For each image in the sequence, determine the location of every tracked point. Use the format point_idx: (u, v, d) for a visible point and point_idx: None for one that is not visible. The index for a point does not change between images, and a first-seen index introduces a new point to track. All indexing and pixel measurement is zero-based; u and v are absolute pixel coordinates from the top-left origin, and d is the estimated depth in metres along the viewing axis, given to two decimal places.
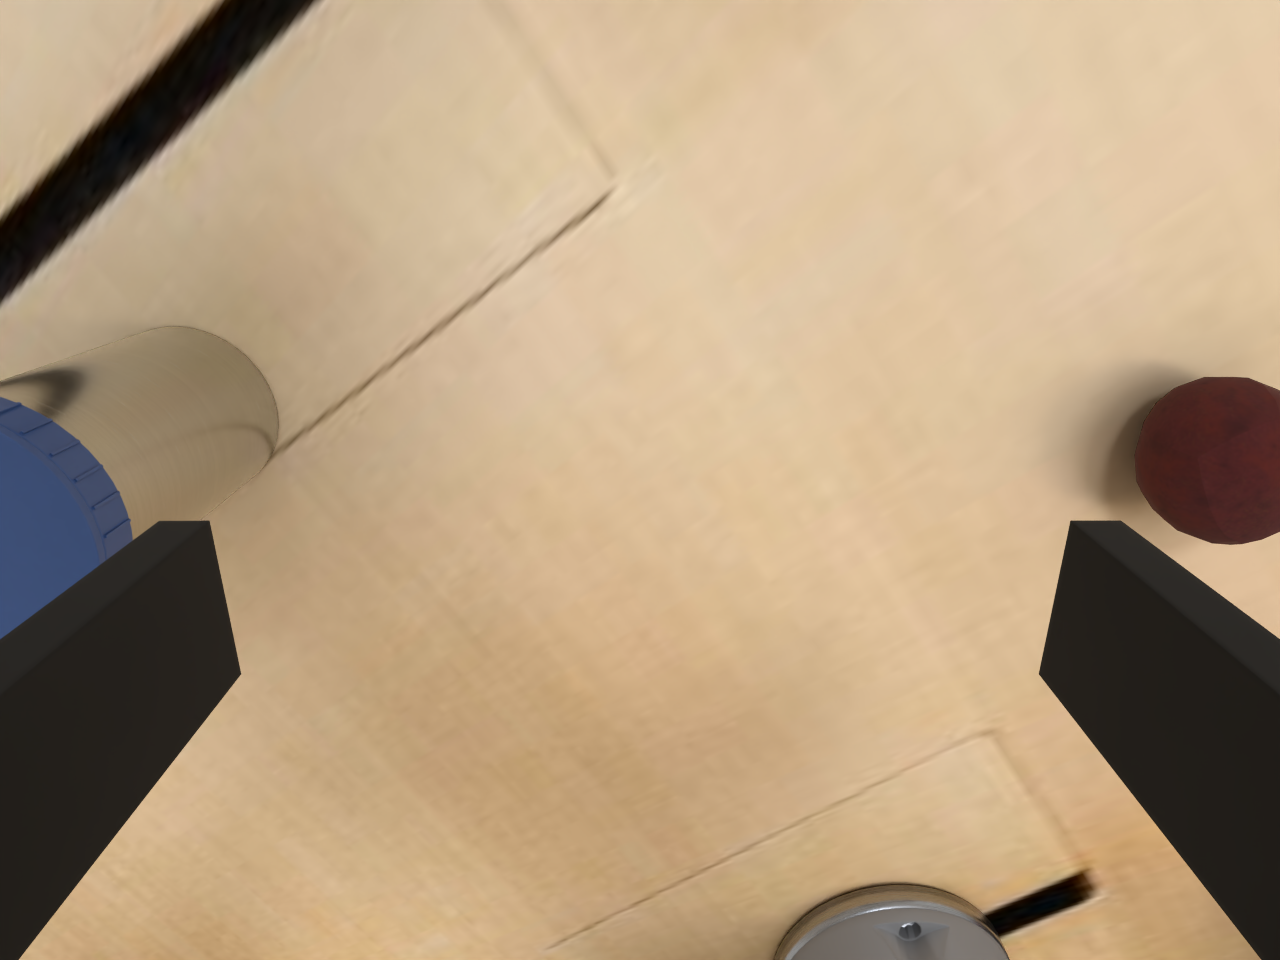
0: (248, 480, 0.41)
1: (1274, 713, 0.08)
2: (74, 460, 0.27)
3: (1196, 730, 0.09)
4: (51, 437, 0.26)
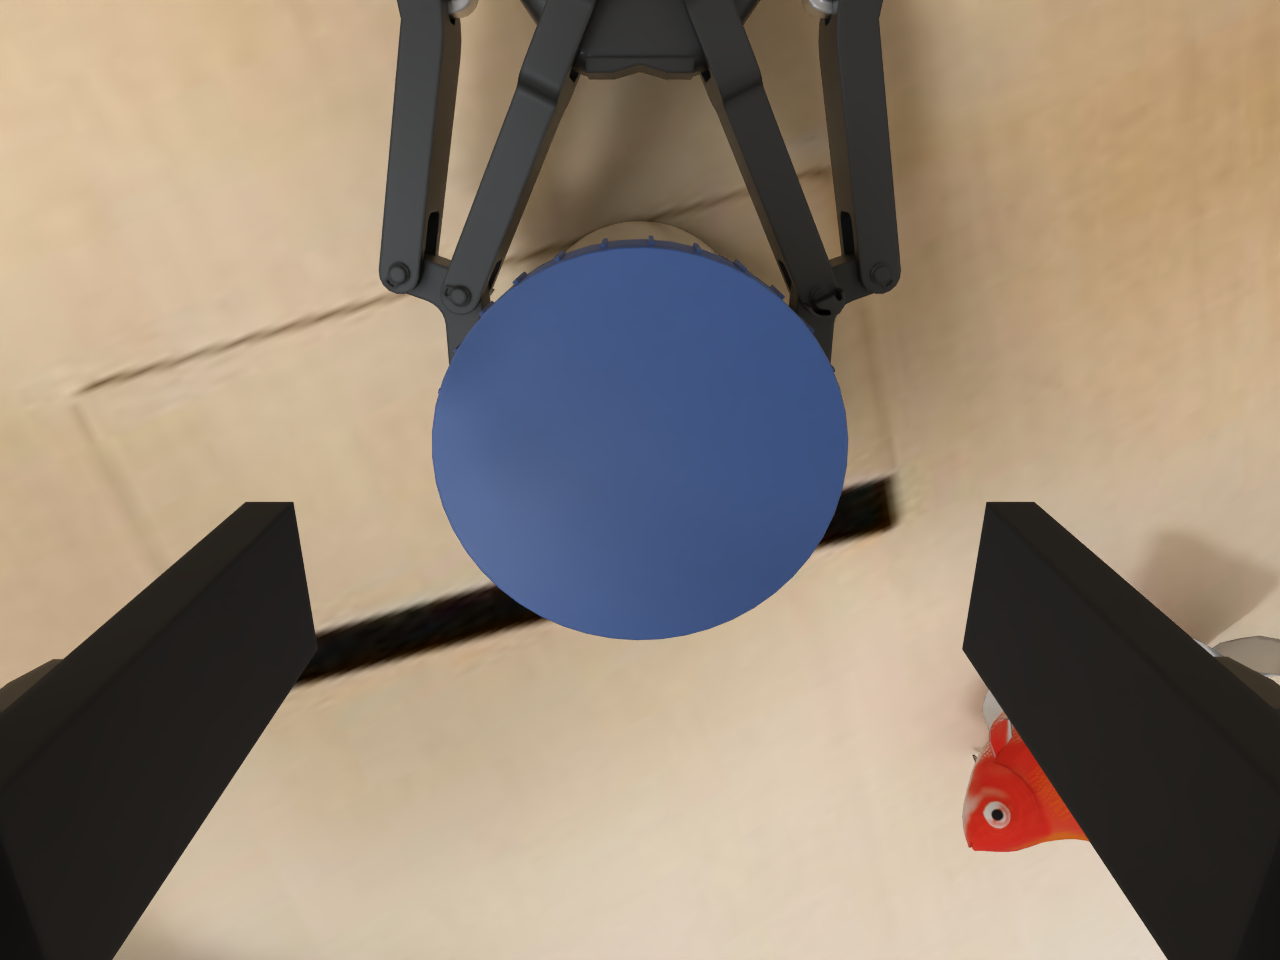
0: (595, 232, 0.30)
1: (1138, 671, 0.09)
2: None
3: (1081, 692, 0.10)
4: None
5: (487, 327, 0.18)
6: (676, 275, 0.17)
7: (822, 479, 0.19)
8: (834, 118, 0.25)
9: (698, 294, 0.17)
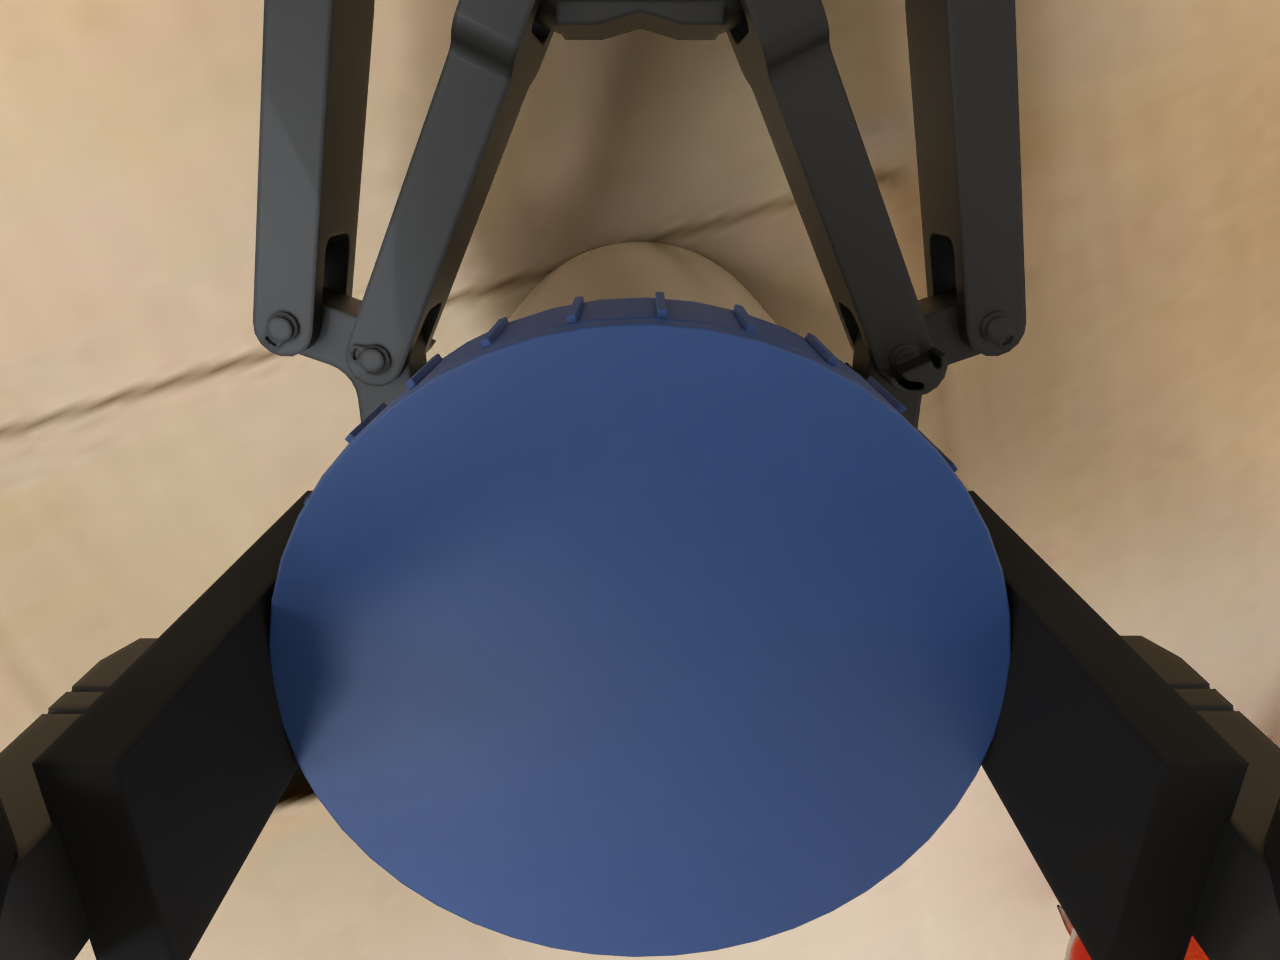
0: (579, 258, 0.22)
1: (1046, 647, 0.09)
2: None
3: None
4: None
5: (356, 468, 0.09)
6: (709, 376, 0.09)
7: (961, 720, 0.11)
8: (929, 97, 0.17)
9: (750, 411, 0.09)
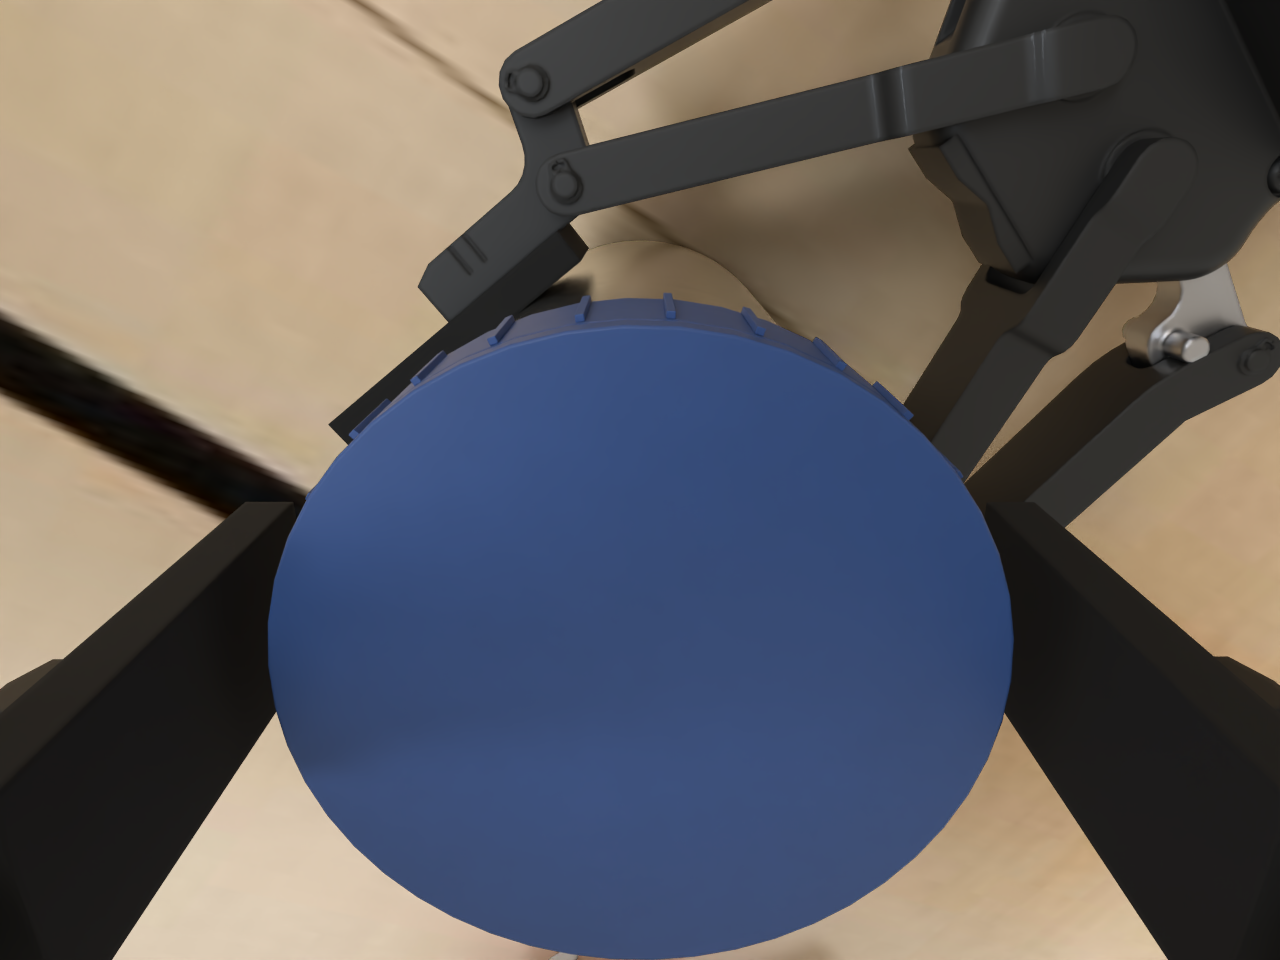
0: (715, 264, 0.22)
1: (1138, 672, 0.09)
2: None
3: (1081, 692, 0.10)
4: None
5: (297, 721, 0.11)
6: (410, 449, 0.09)
7: (909, 487, 0.09)
8: (1042, 443, 0.19)
9: (463, 441, 0.09)
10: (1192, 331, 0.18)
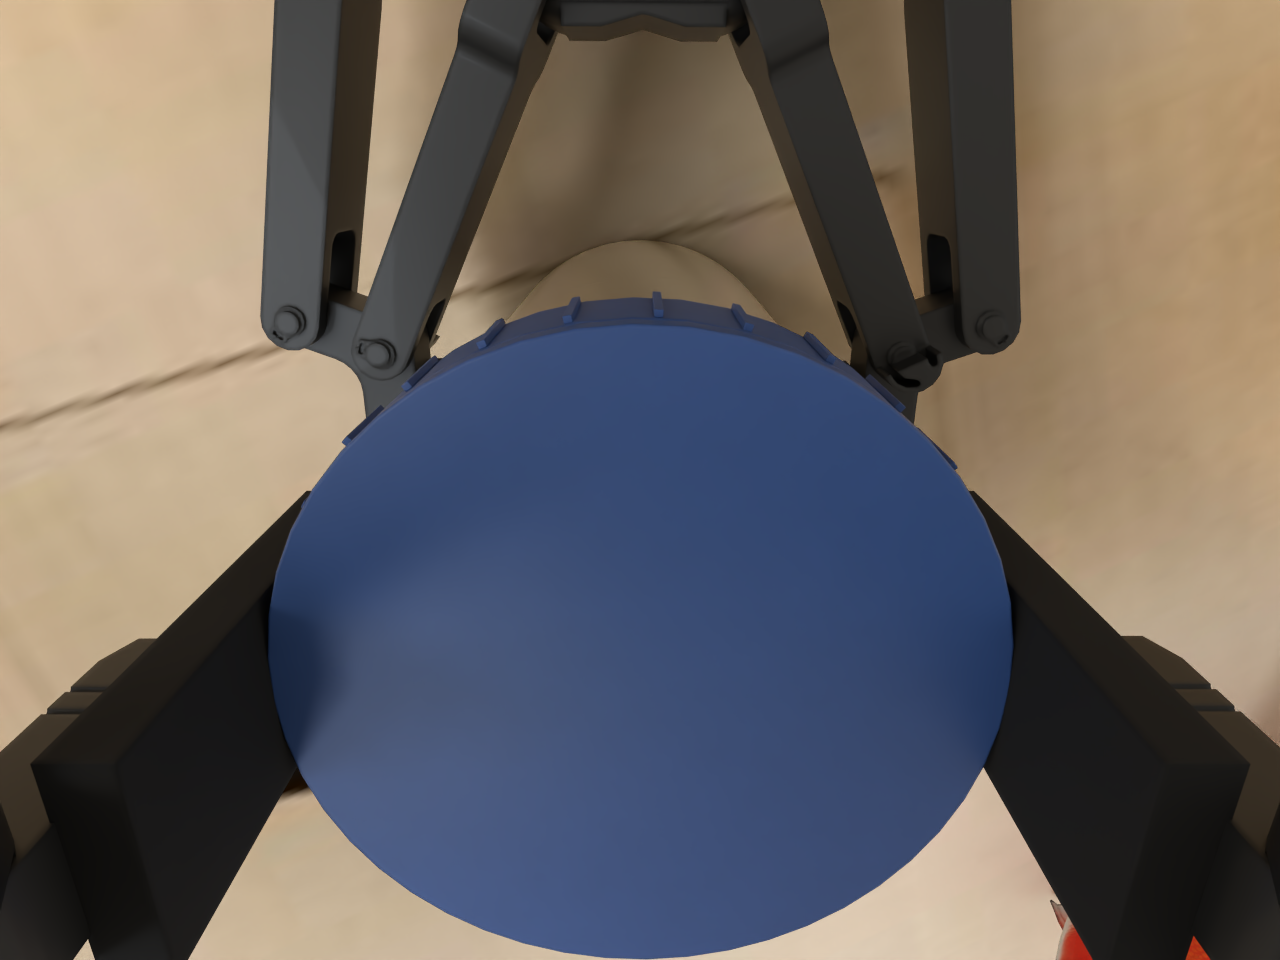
0: (581, 256, 0.22)
1: (1047, 648, 0.09)
2: None
3: None
4: None
5: (470, 910, 0.12)
6: (310, 690, 0.10)
7: (613, 372, 0.09)
8: (927, 99, 0.17)
9: (328, 655, 0.10)
10: None
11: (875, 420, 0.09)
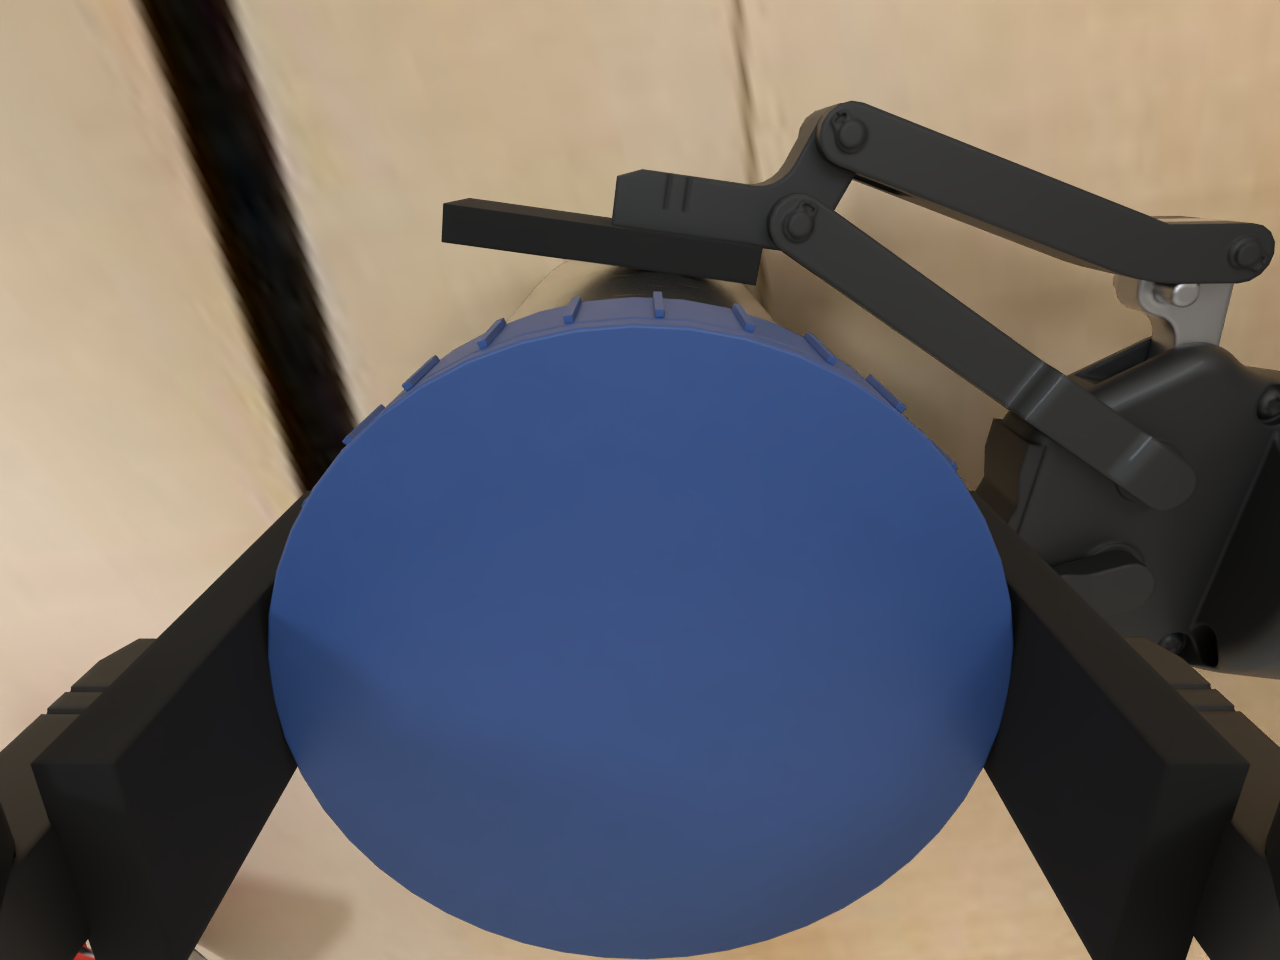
0: None
1: (1047, 648, 0.09)
2: None
3: None
4: None
5: (470, 909, 0.12)
6: (310, 690, 0.10)
7: (614, 372, 0.09)
8: None
9: (328, 654, 0.10)
10: None
11: (876, 420, 0.09)
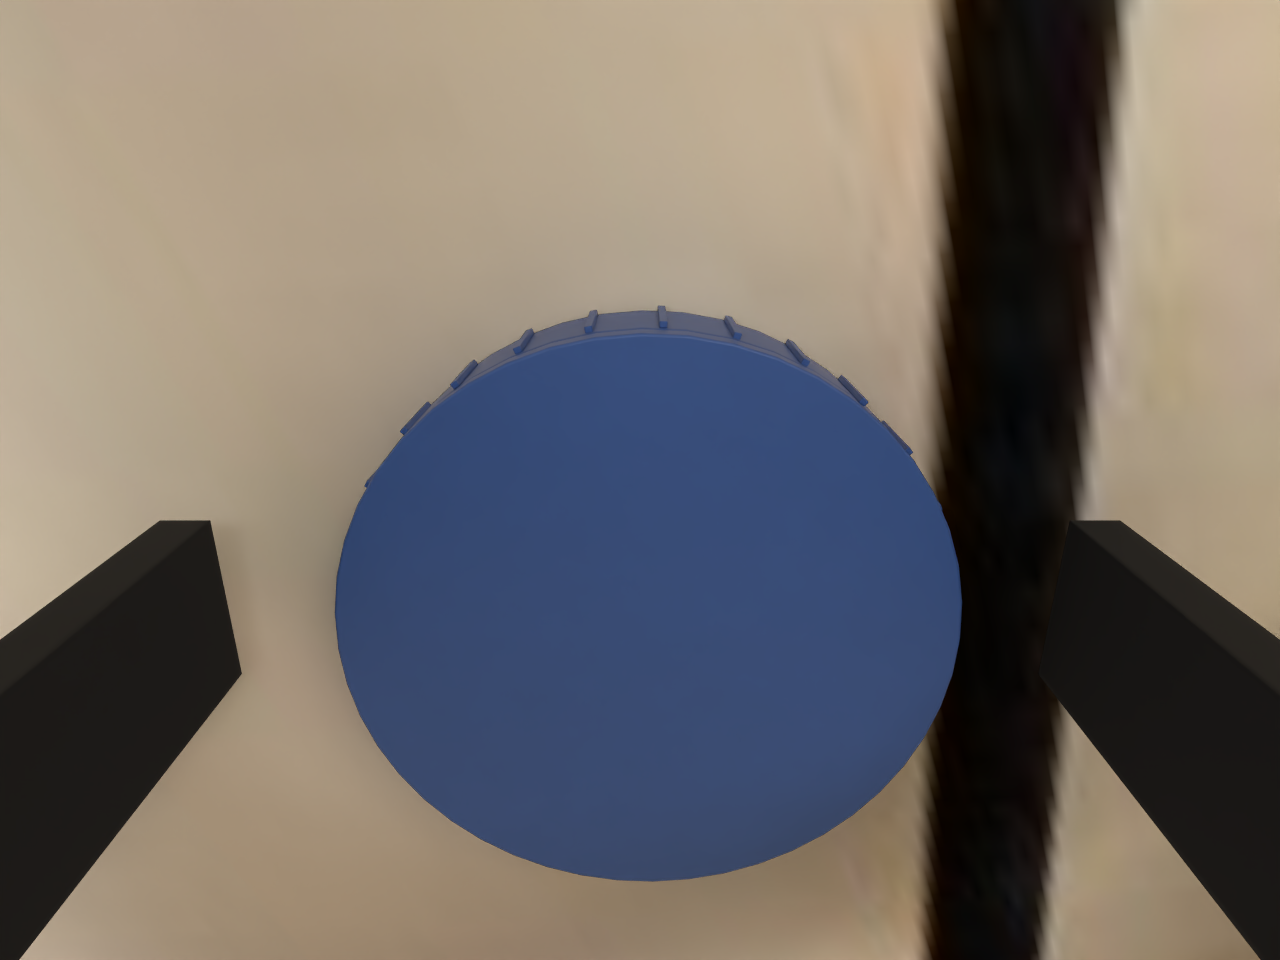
0: None
1: (1273, 712, 0.08)
2: None
3: (1195, 730, 0.09)
4: None
5: (501, 836, 0.14)
6: (369, 641, 0.12)
7: (626, 373, 0.11)
8: None
9: (386, 611, 0.12)
10: None
11: (842, 412, 0.11)
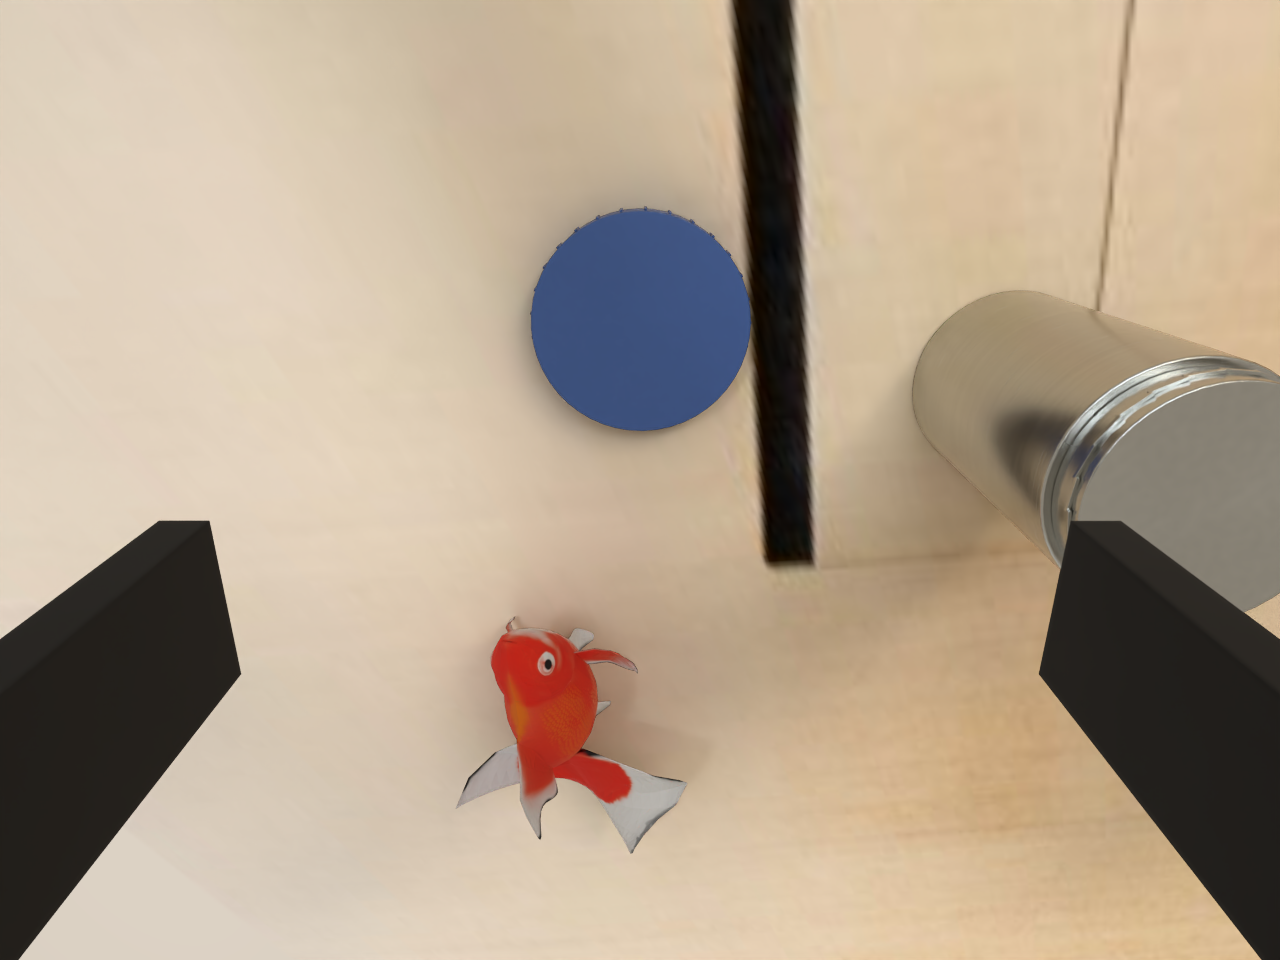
0: None
1: (1274, 713, 0.08)
2: None
3: (1196, 730, 0.09)
4: None
5: (586, 410, 0.37)
6: (542, 325, 0.35)
7: (633, 224, 0.34)
8: None
9: (549, 313, 0.35)
10: None
11: (704, 238, 0.34)
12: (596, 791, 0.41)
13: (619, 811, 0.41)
